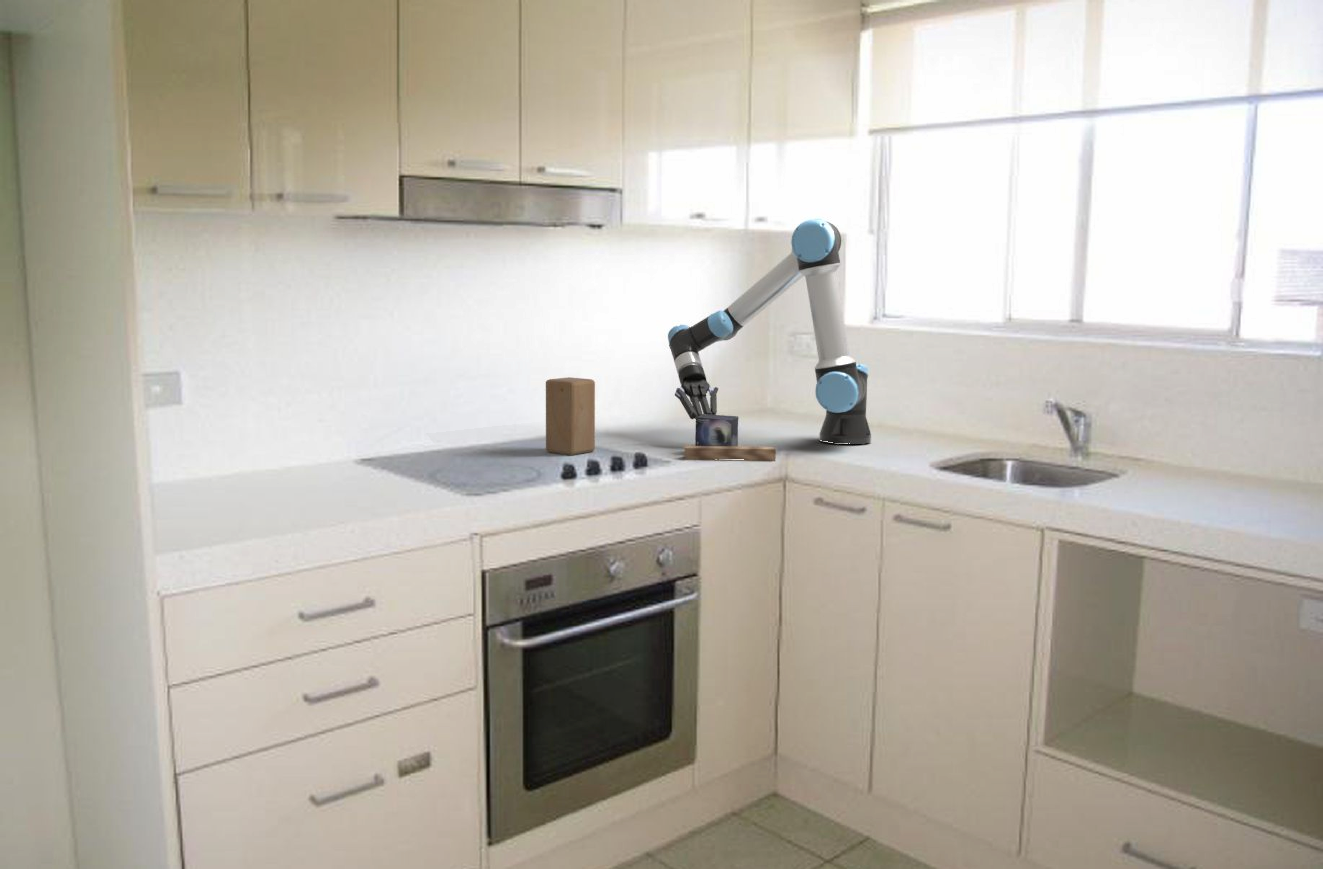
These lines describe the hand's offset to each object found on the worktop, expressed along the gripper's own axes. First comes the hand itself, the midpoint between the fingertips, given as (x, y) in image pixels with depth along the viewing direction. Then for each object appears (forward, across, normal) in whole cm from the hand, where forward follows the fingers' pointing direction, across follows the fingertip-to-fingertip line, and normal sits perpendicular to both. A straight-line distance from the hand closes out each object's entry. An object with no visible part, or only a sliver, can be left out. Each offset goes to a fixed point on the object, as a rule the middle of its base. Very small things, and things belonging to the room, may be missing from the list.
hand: (710, 436), depth 306 cm
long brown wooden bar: (+13, 0, +7) cm, 15 cm away
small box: (+7, 0, +1) cm, 7 cm away
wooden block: (-3, +38, -8) cm, 39 cm away
